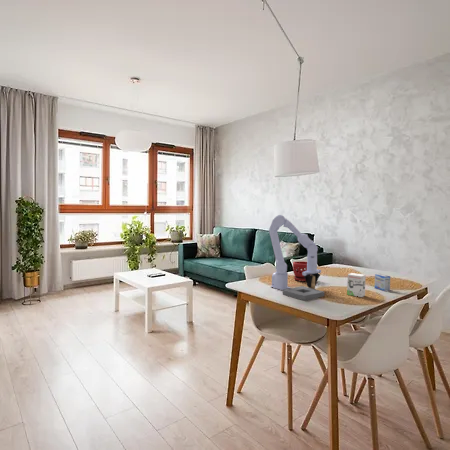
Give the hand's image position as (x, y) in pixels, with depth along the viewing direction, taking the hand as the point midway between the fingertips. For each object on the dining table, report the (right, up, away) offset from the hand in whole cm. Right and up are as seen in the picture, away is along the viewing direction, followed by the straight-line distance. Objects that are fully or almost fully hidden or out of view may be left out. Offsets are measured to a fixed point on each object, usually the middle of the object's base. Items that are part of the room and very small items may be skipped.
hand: (311, 286), depth 205 cm
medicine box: (+42, -2, +1) cm, 43 cm away
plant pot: (+1, -1, +27) cm, 27 cm away
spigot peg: (0, -2, 0) cm, 2 cm away
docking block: (-8, -3, -13) cm, 15 cm away
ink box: (+22, -3, -13) cm, 25 cm away
